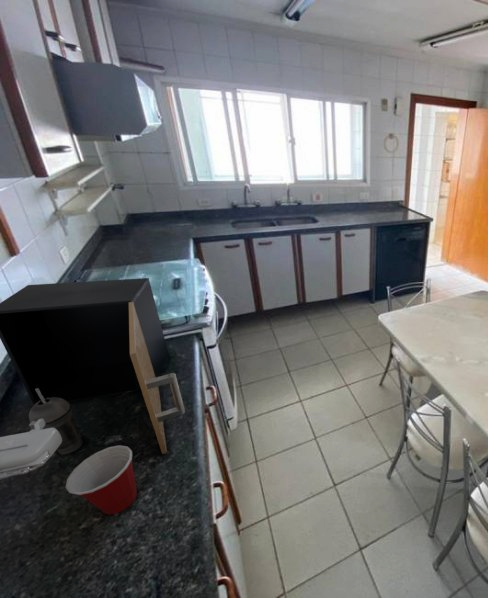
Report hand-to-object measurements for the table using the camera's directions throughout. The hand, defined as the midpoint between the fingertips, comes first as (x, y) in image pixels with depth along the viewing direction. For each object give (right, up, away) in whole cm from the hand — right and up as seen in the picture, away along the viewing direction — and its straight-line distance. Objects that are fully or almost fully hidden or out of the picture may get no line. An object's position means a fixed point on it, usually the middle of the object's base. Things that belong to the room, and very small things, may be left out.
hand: (8, 426), depth 66 cm
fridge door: (+12, -8, +30) cm, 34 cm away
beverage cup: (-6, -13, +19) cm, 23 cm away
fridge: (-17, -1, +42) cm, 45 cm away
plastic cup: (+16, -20, +7) cm, 27 cm away
